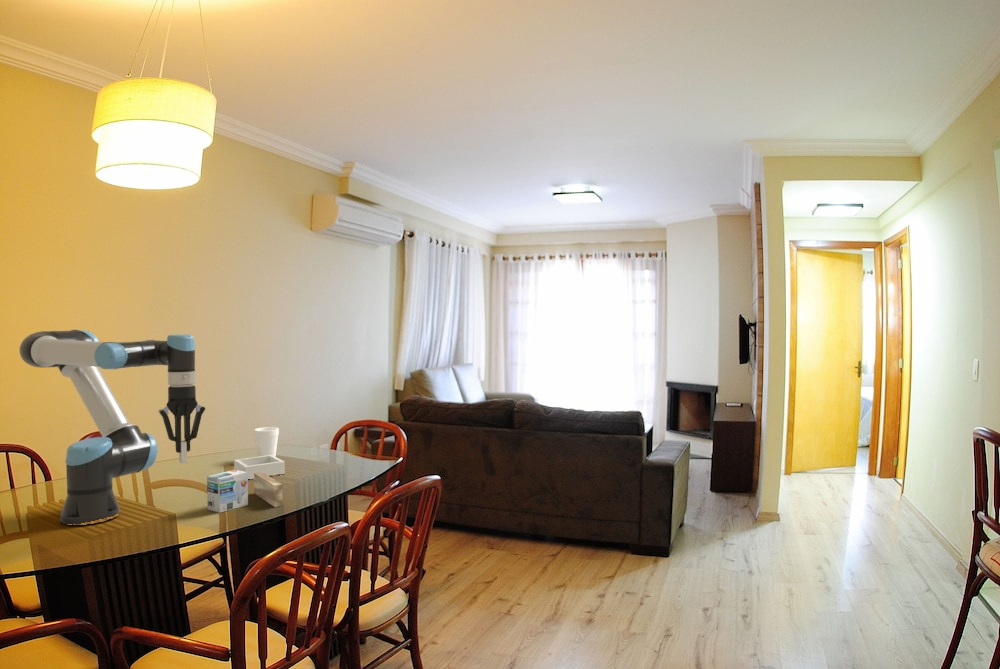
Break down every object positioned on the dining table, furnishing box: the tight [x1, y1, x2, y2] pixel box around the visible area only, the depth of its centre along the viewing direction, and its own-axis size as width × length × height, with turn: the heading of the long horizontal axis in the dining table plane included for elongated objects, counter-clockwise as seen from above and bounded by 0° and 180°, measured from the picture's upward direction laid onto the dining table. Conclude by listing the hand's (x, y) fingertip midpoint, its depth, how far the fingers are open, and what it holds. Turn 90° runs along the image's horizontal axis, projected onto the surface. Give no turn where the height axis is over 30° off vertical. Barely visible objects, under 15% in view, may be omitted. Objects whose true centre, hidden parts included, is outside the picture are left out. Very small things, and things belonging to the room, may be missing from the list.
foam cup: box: [254, 426, 280, 457], centre depth 279 cm, size 10×9×13 cm
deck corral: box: [233, 455, 286, 480], centre depth 256 cm, size 14×14×5 cm
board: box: [253, 472, 284, 508], centre depth 222 cm, size 2×20×7 cm, turn 38°
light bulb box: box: [206, 469, 249, 514], centre depth 213 cm, size 11×7×11 cm, turn 148°
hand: (183, 462), depth 205 cm, fingers closed
